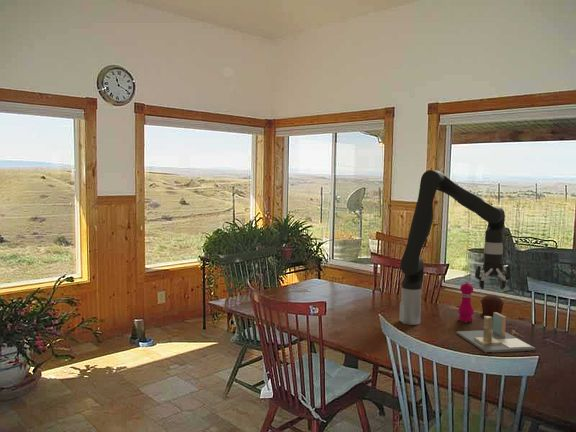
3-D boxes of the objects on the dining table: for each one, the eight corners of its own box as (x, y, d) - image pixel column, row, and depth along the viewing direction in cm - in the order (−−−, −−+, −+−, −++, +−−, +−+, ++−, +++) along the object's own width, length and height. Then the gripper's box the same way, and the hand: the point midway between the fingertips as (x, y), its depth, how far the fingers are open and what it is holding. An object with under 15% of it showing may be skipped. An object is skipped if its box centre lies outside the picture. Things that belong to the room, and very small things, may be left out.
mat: (486, 352, 193) (486, 350, 192) (456, 333, 216) (456, 331, 216) (535, 350, 196) (535, 347, 196) (501, 331, 219) (501, 329, 219)
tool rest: (509, 348, 195) (509, 347, 195) (495, 340, 205) (495, 339, 205) (531, 347, 197) (531, 346, 197) (516, 339, 206) (516, 338, 206)
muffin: (484, 310, 256) (484, 291, 255) (506, 313, 249) (506, 295, 248) (477, 314, 247) (477, 295, 246) (499, 318, 240) (500, 299, 239)
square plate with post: (483, 345, 198) (484, 319, 197) (474, 339, 205) (475, 314, 204) (500, 344, 199) (501, 318, 199) (491, 339, 206) (492, 314, 205)
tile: (501, 336, 209) (502, 316, 208) (492, 331, 216) (493, 312, 215) (505, 336, 209) (505, 316, 209) (495, 331, 216) (496, 312, 216)
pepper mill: (459, 317, 242) (460, 278, 241) (474, 319, 238) (476, 280, 237) (456, 320, 236) (458, 281, 234) (471, 323, 232) (473, 282, 231)
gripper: (479, 253, 204) (478, 290, 205) (513, 253, 204) (512, 291, 205) (473, 250, 212) (472, 286, 213) (506, 251, 211) (505, 287, 212)
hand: (492, 288), depth 209 cm, fingers open, 8 cm apart
